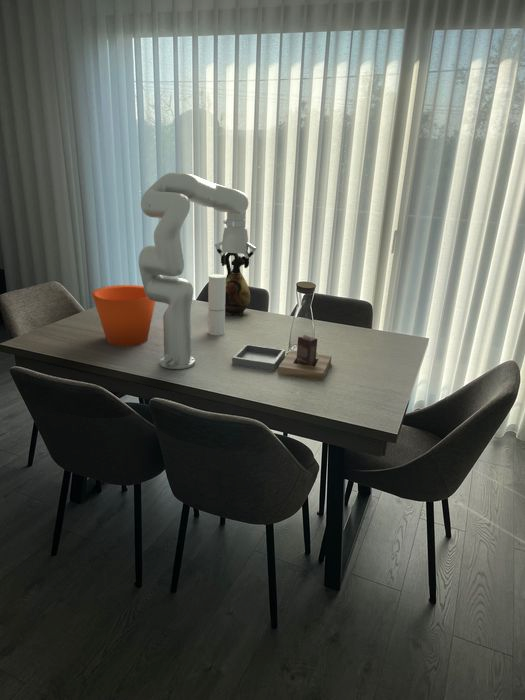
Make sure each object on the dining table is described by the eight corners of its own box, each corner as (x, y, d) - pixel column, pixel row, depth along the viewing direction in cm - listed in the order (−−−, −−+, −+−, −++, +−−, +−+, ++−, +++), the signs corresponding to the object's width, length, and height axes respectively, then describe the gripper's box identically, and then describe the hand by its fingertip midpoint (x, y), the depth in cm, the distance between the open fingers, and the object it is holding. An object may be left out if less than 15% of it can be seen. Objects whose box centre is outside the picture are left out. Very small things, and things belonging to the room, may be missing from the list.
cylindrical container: (225, 330, 226) (227, 274, 217) (223, 335, 219) (224, 278, 211) (209, 329, 226) (210, 273, 218) (206, 334, 220) (207, 277, 211)
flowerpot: (111, 354, 193) (108, 303, 186) (85, 336, 211) (81, 289, 204) (169, 342, 208) (168, 295, 201) (141, 326, 226) (139, 282, 219)
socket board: (322, 381, 178) (323, 373, 177) (277, 374, 182) (278, 366, 181) (330, 363, 194) (331, 356, 193) (289, 357, 198) (290, 350, 197)
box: (315, 369, 188) (318, 338, 184) (307, 372, 184) (310, 341, 180) (302, 364, 191) (305, 334, 187) (294, 367, 188) (297, 336, 184)
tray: (274, 371, 184) (274, 363, 183) (232, 365, 188) (232, 357, 187) (284, 356, 199) (285, 349, 198) (245, 351, 203) (245, 344, 202)
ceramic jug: (255, 312, 256) (258, 252, 245) (238, 319, 243) (240, 256, 233) (228, 306, 264) (229, 247, 254) (209, 312, 252) (210, 251, 241)
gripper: (212, 223, 204) (212, 266, 210) (254, 226, 200) (252, 270, 206) (218, 221, 211) (218, 263, 217) (259, 224, 207) (257, 266, 213)
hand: (234, 266), depth 211 cm, fingers open, 9 cm apart
